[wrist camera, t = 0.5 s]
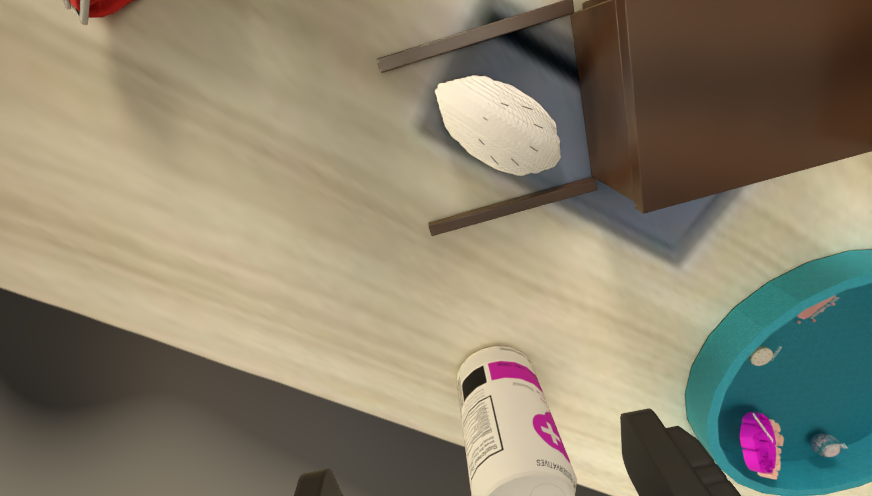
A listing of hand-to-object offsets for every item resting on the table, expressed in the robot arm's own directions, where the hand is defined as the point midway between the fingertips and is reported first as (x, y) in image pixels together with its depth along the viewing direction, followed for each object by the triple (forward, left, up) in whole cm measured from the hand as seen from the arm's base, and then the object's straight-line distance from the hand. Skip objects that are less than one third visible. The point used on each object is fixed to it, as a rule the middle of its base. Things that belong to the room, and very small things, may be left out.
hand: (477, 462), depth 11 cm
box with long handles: (-4, +15, -27) cm, 31 cm away
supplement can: (+21, +1, -28) cm, 35 cm away
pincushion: (-4, +7, -28) cm, 29 cm away
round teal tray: (+32, +36, -28) cm, 55 cm away
